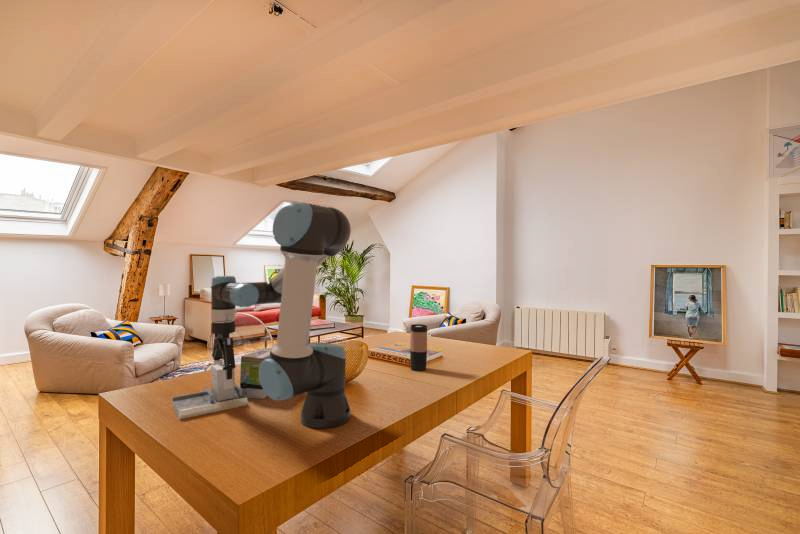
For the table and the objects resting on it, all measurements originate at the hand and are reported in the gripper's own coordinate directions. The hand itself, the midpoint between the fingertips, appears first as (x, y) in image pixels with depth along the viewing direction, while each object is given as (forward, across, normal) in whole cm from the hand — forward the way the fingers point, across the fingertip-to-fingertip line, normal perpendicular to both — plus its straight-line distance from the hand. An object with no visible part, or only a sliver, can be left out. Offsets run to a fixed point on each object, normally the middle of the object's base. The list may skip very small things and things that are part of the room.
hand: (222, 383), depth 131 cm
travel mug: (+7, -8, -82) cm, 83 cm away
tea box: (+7, +4, -15) cm, 17 cm away
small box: (+5, 0, 0) cm, 5 cm away
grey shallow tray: (+7, 0, +4) cm, 8 cm away
